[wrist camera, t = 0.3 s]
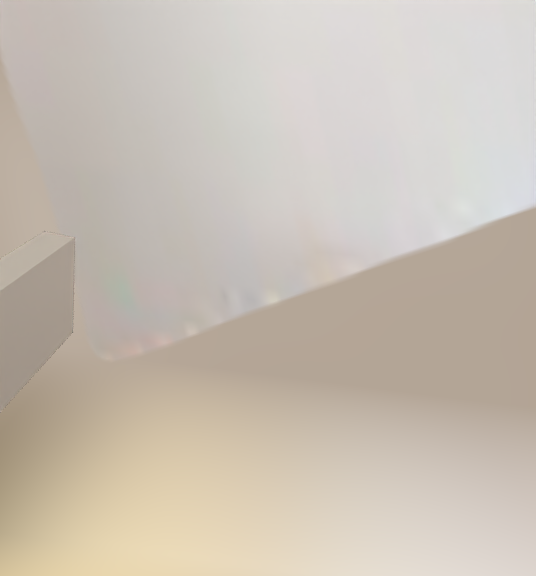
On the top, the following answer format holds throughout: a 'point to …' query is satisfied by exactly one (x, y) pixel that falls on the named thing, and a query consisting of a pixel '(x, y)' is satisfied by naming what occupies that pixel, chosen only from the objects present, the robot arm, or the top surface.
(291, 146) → the top surface
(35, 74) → the top surface
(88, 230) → the top surface
